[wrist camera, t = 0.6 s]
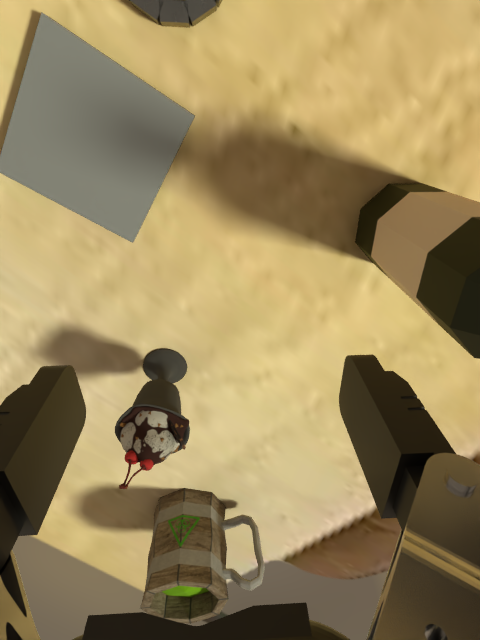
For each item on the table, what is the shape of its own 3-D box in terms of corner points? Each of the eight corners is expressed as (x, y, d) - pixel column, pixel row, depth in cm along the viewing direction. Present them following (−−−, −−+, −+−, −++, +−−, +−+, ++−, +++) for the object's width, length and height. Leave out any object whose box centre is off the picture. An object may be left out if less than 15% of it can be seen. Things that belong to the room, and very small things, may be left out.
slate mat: (47, 15, 26) (41, 12, 26) (195, 115, 30) (194, 115, 29) (2, 168, 31) (-5, 170, 30) (134, 239, 35) (132, 242, 34)
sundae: (127, 377, 42) (88, 494, 29) (149, 333, 40) (117, 440, 27) (179, 396, 44) (165, 514, 31) (204, 355, 42) (199, 465, 29)
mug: (160, 535, 58) (149, 628, 47) (146, 492, 53) (130, 585, 42) (259, 524, 58) (269, 614, 48) (255, 480, 53) (265, 570, 42)
